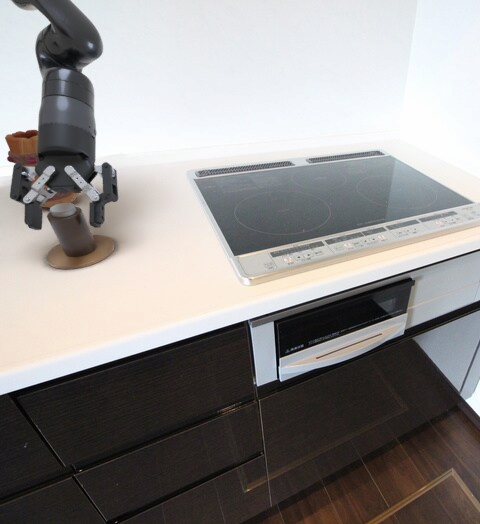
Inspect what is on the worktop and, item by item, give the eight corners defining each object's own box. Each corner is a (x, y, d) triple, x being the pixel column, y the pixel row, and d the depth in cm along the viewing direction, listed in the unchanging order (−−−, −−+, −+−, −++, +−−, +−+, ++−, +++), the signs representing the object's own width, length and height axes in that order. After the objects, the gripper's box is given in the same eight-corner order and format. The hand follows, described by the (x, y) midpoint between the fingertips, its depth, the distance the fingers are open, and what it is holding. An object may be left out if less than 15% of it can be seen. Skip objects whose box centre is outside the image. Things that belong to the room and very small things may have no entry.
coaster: (47, 275, 56) (45, 272, 56) (48, 246, 63) (46, 243, 62) (117, 258, 61) (116, 256, 60) (111, 232, 67) (110, 230, 67)
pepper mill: (65, 260, 59) (43, 216, 54) (64, 246, 62) (44, 204, 57) (98, 252, 61) (79, 210, 56) (96, 239, 64) (78, 198, 59)
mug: (42, 217, 70) (4, 139, 62) (22, 205, 74) (-17, 130, 65) (116, 192, 81) (92, 122, 72) (95, 183, 84) (70, 115, 75)
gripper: (0, 120, 55) (-6, 223, 52) (104, 120, 58) (103, 219, 55) (34, 144, 62) (30, 235, 60) (124, 143, 65) (124, 231, 62)
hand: (65, 227), depth 57 cm, fingers open, 8 cm apart
